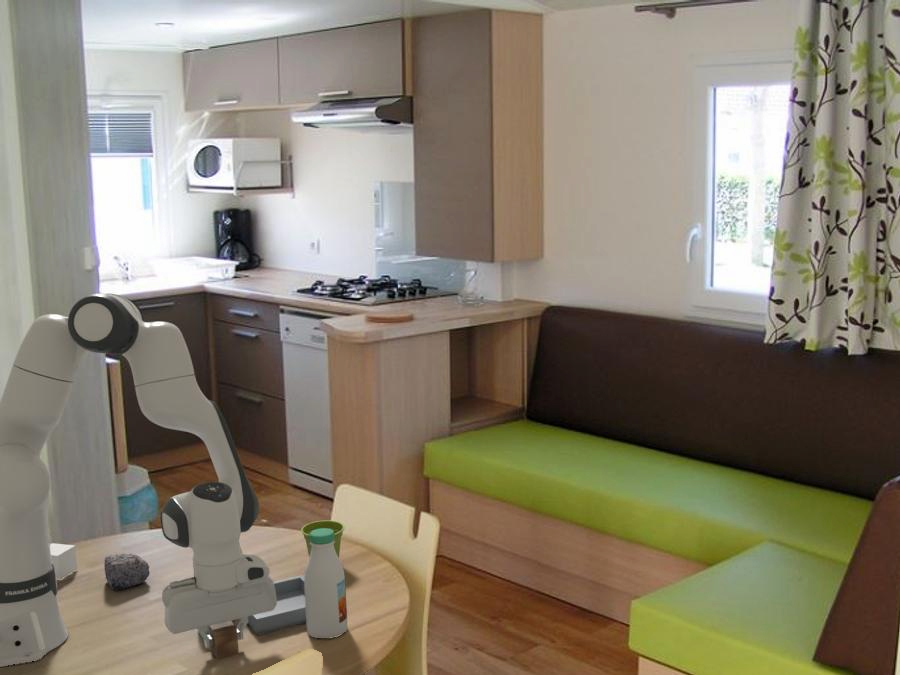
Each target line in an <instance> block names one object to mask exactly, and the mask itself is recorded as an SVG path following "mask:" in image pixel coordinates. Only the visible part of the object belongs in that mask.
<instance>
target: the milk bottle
mask: <svg viewBox="0 0 900 675" xmlns="http://www.w3.org/2000/svg"><path fill="white" fill-rule="evenodd" d="M334 539H335V535H334V531H333V530H331V529H327V528H321V529H316V530H313V531H312V532H311V533H310V544H311V545H312V549H311V554H310V557H309V556H308V559H307V563H306V565H305V568H304V573H303V575H304V587H305V606H306V623H305V624H306V631H307V633H308V635H309V636H310V637H311V636H312V637H311V638H313V637H315V638H314V639H317V638H330V637H335V636H338V635H340V634H342V633H344V632H345V631H346V632H347V629H348V608H347V592H346V591H347V590H346V589H347V588H346V578H345V571H344V566H343V563H342V562H341V561H342V560H341V559H340V557H339V558H338V556H337V554H336V551H335V549H334V543H335V541H334ZM346 632H345V633H346ZM345 633H344V634H345Z"/></svg>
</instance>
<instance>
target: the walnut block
mask: <svg viewBox="0 0 900 675" xmlns="http://www.w3.org/2000/svg"><path fill="white" fill-rule="evenodd" d="M209 629H210V635H212V637H214V644H215V646H214V647H210V650H211V652H212V654H213V655H214V657H215V658H216V659H217V660H219V659H224V658H228V657H231V656H234V655H239V651H240V650H239V640H238V637H237V626H235V624H234V623H233V621H232V620H231V621H227V622H223V623H219V624H214V625H210V626H209Z"/></svg>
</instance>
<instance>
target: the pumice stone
mask: <svg viewBox="0 0 900 675" xmlns="http://www.w3.org/2000/svg"><path fill="white" fill-rule="evenodd" d="M103 567H104V574H105V579H106V582H107V583H108V585H109V587H110V588H111V589H113V590H112V591H117V590H116V589H118V590H122V588H123V589H128V588H131V587H134V586H138V585H140V584H143V583H144V582H146V580H147V579H148V577H149V576H150V565H149V563H148V562H147V561H146V560H145V559H143V558H142V557H140V556H139V555H137V554H132V553H115V554H110V555H107V556H105V557H104V566H103Z"/></svg>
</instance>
